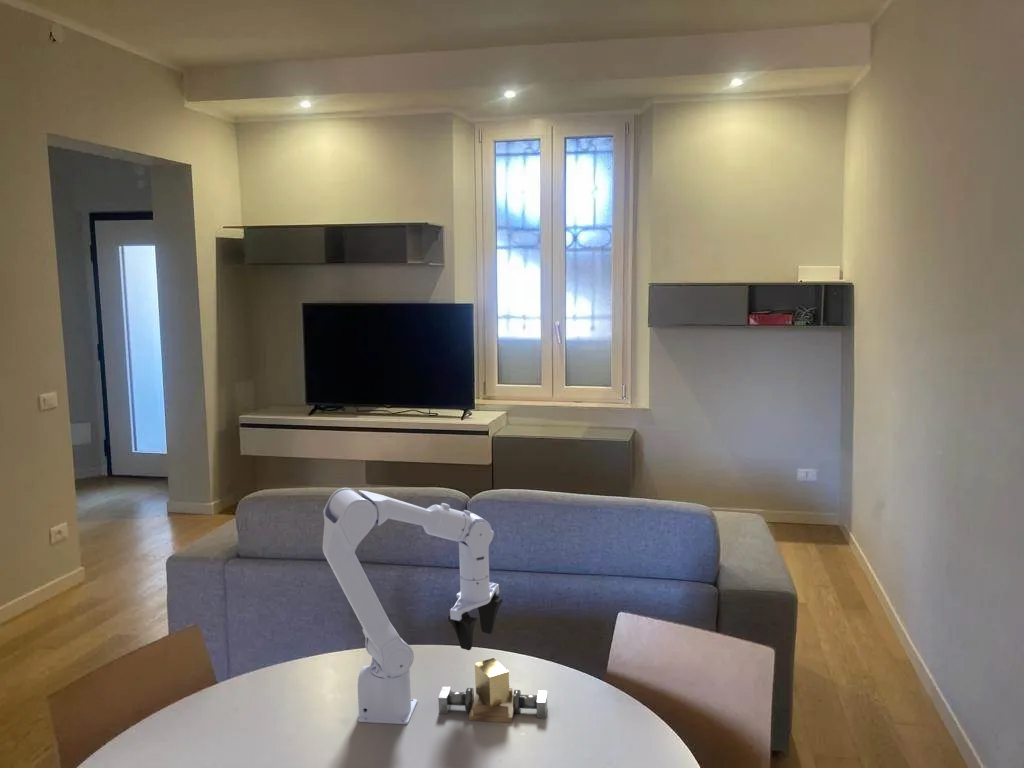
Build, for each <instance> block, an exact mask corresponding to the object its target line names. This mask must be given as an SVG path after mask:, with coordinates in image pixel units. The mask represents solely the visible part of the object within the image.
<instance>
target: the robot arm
mask: <svg viewBox="0 0 1024 768" xmlns="http://www.w3.org/2000/svg"><path fill="white" fill-rule="evenodd" d="M358 492H359V493H360V494H361V495H360V494H359V493H358ZM358 492H357V490H355V489H353V488H349V487H342V488H339V489H337V490H335V491H334V492H333V493H332V494H331V495H330V496H329V499H328V500H327V502H326V503H325V504H326V505H325V506H324V508H323V510H322V513H323V520H324V525H323V536H322V538H323V539H322V552H323V555H324V557H325V558H326V561H327V562H328V564H329V566H330V568H331V571H332V572H333V574H334V576H335V578H336V580H337V581H338V584H339V586H340V587H341V590H342V591H343V594H344V595H345V597H346V599H347V600H348V603H349V604H350V606H351V608H352V610H353V612H354V615H356V617H357V620H358V622H359V624H360V625H361V627H362V629H361V630H362V633H363V635H364V638H365V644H364V645H365V650H366V652H367V653H368V654H369V655H370V656H371V662H370V665H363V666H362V667H361V668H360V671H359V675H358V679H357V700H358V719H357V721H358V722H359V723H374V724H392V725H393V724H394V725H408V724H409V723H410V719H411V718H412V715H413V713H414V711H415V708H416V706H417V704H418V699H416V698H412V696H411V695H412V693H411V671H410V668H411V667H412V665H413V663H414V658H415V654H414V650H413V648H412V647H411V646H410V645H409V644H408V643H407V642H406V641H404V640H403V638H402V637H400V635H399V633H398V632H397V630H396V629H395V627H394V626H393V624H392V623H391V620H389V617H388V615H387V613H386V611H385V610H384V608H383V607H384V606H382V604H381V602H380V600H379V597H378V596H377V594H376V591H375V590H374V588H373V586H372V584H371V582H370V581H369V578H368V576H367V574H366V573H365V570H364V568H363V567H362V564H361V562H360V561H359V558H358V557H357V555H356V551H357V548H358V546H359V544H360V543H361V541H363V540H364V538H365V537H366V536H367V535H368V533H370V531H371V530H372V528H373V527H374V526H375V525H377V526H378V527H379V526H381V525H382V524H383V523H385V522H386V521H387V520H393V521H398V522H404V523H408V524H412V525H416V526H417V525H418V526H422V528H423V530H424V532H425V533H426V535H430V536H433V537H434V536H435V537H437V538H441V539H445V540H449V541H454V542H458V557H459V585H460V587H459V588H460V589H459V590H460V591H459V592H458V593H456V598H457V600H456V602H455V604H454V606H453V607H451V608H449V613H448V614H447V620H448V622H449V623H450V624H451V626H452V627H453V629H454V631H455V634H456V638H457V639H458V644H459V646H460V648H461V649H462V650H466V651H471V650H472V649H473V640H474V638H473V637H474V629H475V625H476V623H477V621H478V618H477V617H473V616H471V615H470V614H469V612H470V611H471V610H474V609H477V610H478V615H479V622H480V629H481V632H482V633H485V634H487V635H488V634H489V635H492V634H493V631H494V627H495V622H496V618H497V615H498V611H499V609H500V607H501V605H502V603H503V597H501V596H497V595H498V594H500V584H499V583H494V582H490V559H489V557H490V556H489V555H490V554H489V551H490V550H489V547H490V544H491V543H492V541H493V538H494V535H495V531H494V530H492V526H491V524H490V522H489V521H487V520H486V519H484V518H482V517H481V516H479V515H477V514H476V513H473V512H471V511H470V510H466V509H463V511H461V510H458V509H454V508H451V505H449V504H448V503H444V502H441V503H440V504H432V505H430V506H429V507H427V508H425V507H422V506H418V505H416V504H412V503H409V502H406V501H402V500H399V499H396V498H392V497H390V496H386V495H383V494H381V493H380V494H379V493H375V492H370V491H368V490H367V491H366V490H361V489H359V490H358Z"/></svg>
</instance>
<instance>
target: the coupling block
mask: <svg viewBox="0 0 1024 768" xmlns="http://www.w3.org/2000/svg"><path fill="white" fill-rule="evenodd" d="M474 674H475V675H474V676H475V677H474V678H475V679H474V680H475V694H477V695H478V696H479V697H480V698H481V699H482V700H483V701H484V702H485V703H486V704H487V705H488V706H489V707H490V708H491V707H494V706H497V705H500V704H503V703H507V702H509V688H510V673H509V670H508V669H506V667H504V665H502V664H501V663H500V662H499V661H498V660H497V659H495V658H494V657H492V658H489V659H485V660H482V661H478V662H474Z"/></svg>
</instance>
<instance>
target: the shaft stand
mask: <svg viewBox="0 0 1024 768" xmlns="http://www.w3.org/2000/svg"><path fill="white" fill-rule="evenodd" d="M537 691H538V693H537V694H522V693H521V692H522V691H521V690H520V689H514V690H513V687H509V702H507V703H503V704H500V705H497V706H494V707H491V708H490V707H489V706H488V705H487V704H486V703H485V702H484V701H483V700H482V699H481V698H480V697H479V696H478V695H477V694H476V693H475V691H474V688H473V687H467V688H466V690H465V691H452V686H442V688H441V690H440V693H439V695H438V714H439V715H448V713H449V711H450V708H451V706H458V707H459V706H461V707H464V709H465V711H467V712H468V711H469V714H468V721H470V722H471V721H472V722H491V723H492V722H493V723H496V722H497V723H511V724H512V723H513V720H514V716H515V715H514V714H519V713H521V709H526V710H527V709H528V710H536V719H545V720H546V718H547V711H548V690H537Z"/></svg>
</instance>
